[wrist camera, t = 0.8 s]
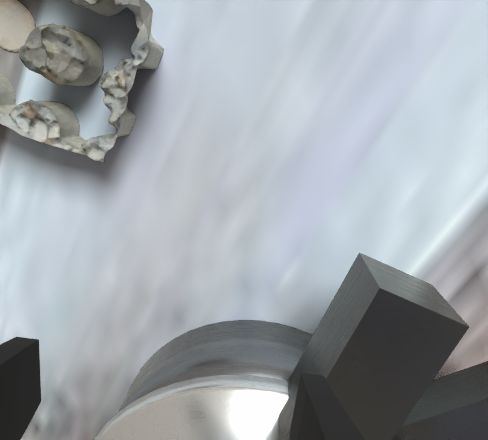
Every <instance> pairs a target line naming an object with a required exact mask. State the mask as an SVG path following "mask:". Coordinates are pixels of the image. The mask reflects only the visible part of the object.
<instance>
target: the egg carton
mask: <svg viewBox="0 0 488 440" xmlns="http://www.w3.org/2000/svg"><path fill="white" fill-rule="evenodd" d="M71 2H72V3H74V4H77V5H81V6H84V7H85V8H88V9H90V10H92V11H94V12H96V13H98V14H100V15H104V16H112V15H115V14H118V13H119V12H120V11H122V10H123V9H124V8H128V9H130V10H131V11H133V14H134V16H135V19H136V25H137V27H138V28H139V30H140V31H139V33H138V35H137V37H136V39H135V40H134V42H133V44H132V46H131V53H132V56H133V58H134V59H122V60H121V61H120V62H119V64H118V66H117V67H116V68H114V69H112V70H110V71H108V72H106V73H105V74H104V75H103V77H102V80H101V82H100V83H99V87H101V88H102V90H103V91H104V92H105V97H104V99H103V101H104V104H105V105H106V106H107V107H108V108H109V109H110V110H111V116H110V118H109V123H110V124H111V125H113V126H115V127H116V129H117V132H116V134H110V135H104V136H98V137H93V138H90V139H88V140H87V141H86V140H85V139H83V138H82V137H80V136H79V132H80V126H79V122H78V119H77V117H76V115H75V113H74V112H73V111H72V110H71V109H70V108H69V107H68V106H66V105H64V104H62V103H58V102H52V101H33V100H30V101H28V102H24V103H21V104H19V105H16V104H15V102H16V97H15V91H14V89H13V86H12V84H11V83H10V81H9V80H8V79H7V77H6V76H4V75H3V74H2V73H0V124H2V125H4V126H6V127H8V128H10V129H12V130H14V131H15V132H17V133H18V134H20V135H22V136H24V137H27V138H30V139H33V140H36V141H39V142H42V143H45V144H48V145H51V146H55V147H59V148H62V149H65V150H68V151H71V152H75V153H79V154H82V155H86V156H88V157H89V158H90V159H93V160H96V161H100V162H104V156H105V154H106V153H107V152H108V151H109V150H110V149H111V148H112V147H113V146H114V144H115V141H116V139H117V137H119V136H125V135H129V134H130V132H131V130H132V128H133V125H134V123H135V120H136V116H135V115H134V114H133V113H131V112H130V111H129V110H128V108H127V107H126V106H127V102H128V95H127V93H128V92H129V91H130V89H131V88H132V85H133V83H134V79H135V75H136V71H137V70H138V69H142V68H147V69H153V70H155V69H156V68H157V67H158V64H159V62H160V59H161V57H162V55H163V51H164V49H163V48H162V47H161V46H160V45H159V44H158V43H157V42H156V41H155V40H154V38H153V36H152V35H151V23H152V13H153V10H152V8H151V6H150V5H149V4H148V3H147V2H146V1H145V0H71ZM0 46H1V47H2V48H3V49H5V50H8V51H10V52H12V51H13V52H19V57H20V59H21V61H22V62H23V64H24V65H25V66H26V67H27V68H28V69H29V70H31V71H34V72H36V73H39V74H41V75H42V76H44V77H45V78H47V79H48V80H50V81H51V82H53V83H55V84H59V85H75V86H88V85H91V84H93V83H94V82H96V81H97V79H98V78H99V77H100V76H101V74H102V72H103V68H104V59H103V54H102V52H101V49H100V47H99V45H98V44H97V43H96V42H95V41H94V40H93V39H92V38H91V37H89V36H87V35H85V34H82V33H80V32H78V31H75V30H72V29H70V28H68V27H65V26H56V25H55V24H50V25H43V26H39V27H37V28H36V26H35V20H34V18H33V16H32V14H31V12H30V11H29V10H28V9H27V8H26V6H25V5H24V4H22V3H21V2H19V1H17V0H0ZM91 86H92V85H91Z"/></svg>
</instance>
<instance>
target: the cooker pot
mask: <svg viewBox="0 0 488 440" xmlns="http://www.w3.org/2000/svg"><path fill="white" fill-rule="evenodd" d="M312 336H313V335H311V334H309V333H306V332H304V331H301V330H299V329H296V328H293V327H289V326H286V325H282V324H278V323H272V322H265V321H255V320H237V321H225V322H219V323H215V324H210V325H206V326H203V327H200V328H197V329H194V330H191V331H189V332H187V333H185V334H183V335H181V336H179V337H177V338H175V339H173V340H172V341H170V342H169V343H167V344H166V345H164V346H163V347H162V348H160V349H159V350H158V351H157V352H156V353H155V354H154V355H153V356H152V357H151V358H150V359H149V360H148V361H147V362H146V364H145V365H144V366H143V367H142V369H141V370H140V372H139V373H138V375H137V377H136V379H135V380H134V382H133V384H132V386H131V388H130V390H129V392H128V394H127V396H126V398H125V400H124V402H123V404H122V406H121V408H120V410H119V412H120V411H121V410H122V409H124V408H125V407H127V406H128V405H129V404H131V403H132V402H134V401H135V400H137V399H139V398H141V397H143V396H145V395H147V394H149V393H150V392H152V391H155V390H157V389H160V388H163V387H165V386H168V385H171V384H174V383H177V382H181V381H186V380H190V379H194V378H199V377H207V376H216V375H254V376H263V377H272V378H277V379H281V380H286V381H288V379H289V377H290V376H291V374H292V372H293V370H294V368H295V367H296V365H297V363H298V361H299V359H300V358H301V356H302V354H303V352H304V351H305V349H306V347H307V345H308V343H309V342H310V340H311V338H312ZM392 440H488V361H487V362H484V363H481V364H478V365H475V366H472V367H469V368H467V369H464V370H461V371H458V372H455V373H452V374H449V375H447V376H444V377H441V378H438V379H435V380H433V381H432V382H431V383H430V385H429V386H428V388H427V389H426V391H425V392H424V394H423V395H422V397H421V398H420V399H419V401H418V402H417V404H416V405H415V407H414V408H413V410H412V411H411V413H410V414H409V415H408V417H407V418H406V420H405V421H404V423H403V424H402V426H401V427H400V429H399V430H398V432H397V433H396V434H395V436H394V437H393V439H392Z"/></svg>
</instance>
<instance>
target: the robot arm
mask: <svg viewBox="0 0 488 440" xmlns="http://www.w3.org/2000/svg"><path fill="white" fill-rule="evenodd" d="M40 402H41V387H40V361H39V340H37V339H29V338H21V337H15V338H13V339H11V340H9V341H7V342H5V343H3V344H1V345H0V440H20V439H21V438H22V436H23V434H24V432H25V430H26V429H27V427H28V425H29V423H30V421H31V420H32V418H33V416H34V414H35V412H36V410H37V408H38V406H39V404H40ZM290 440H366V439H365V438H364V436H363V435H362V433H361V432H360V430H359V429H358V428H357V426H356V425H355V423H354V422H353V420H352V419H351V417H350V416H349V414H348V413H347V411H346V410H345V408H344V407H343V405H342V404H341V402H340V401H339V399H338V397H337V396H336V394H335V393H334V391H333V389H332V388H331V386H330V384H329V383H328V381H327V380H326V378H325V377H324V376H323V375H317V374H309V373H301V375H300V381H299V386H298V391H297V396H296V401H295V407H294V412H293V417H292V422H291V428H290Z"/></svg>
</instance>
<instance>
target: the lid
mask: <svg viewBox="0 0 488 440" xmlns="http://www.w3.org/2000/svg"><path fill="white" fill-rule="evenodd" d="M468 328H469V326H468V325H467V324H466V323H465V322H464V320H463V319H462V318H461V317H460V316H459V315H458V314H457V313H456V311H455V310H454V309H453V308H452V307H451V306H450V305H449V304H448V302H447V301H446V300H445V299H444V298H443V297H442V296H441V295H440V293H439V292H438V291H437V290H436V289H435V288H434V287H433V285H431V284H429V283H427V282H424V281H422V280H420V279H418V278H415V277H413V276H411V275H409V274H406V273H404V272H402V271H400V270H397V269H395V268H393V267H391V266H388V265H386V264H384V263H381V262H379V261H377V260H375V259H372V258H370V257H368V256H366V255H363V254H361V253H359V254H358V256H357V258H356V259H355V261H354V263H353V265H352V267H351V268H350V270H349V272H348V274H347V275H346V277H345V279H344V281H343V283H342V284H341V286H340V288H339V290H338V292H337V293H336V295H335V297H334V299H333V300H332V302H331V304H330V306H329V308H328V309H327V311H326V313H325V315H324V317H323V318H322V320H321V322H320V324H319V326H318V327H317V329H316V331H315V333H314V334H313V336H312V338H311V340H310V342H309V343H308V345H307V347H306V349H305V351H304V352H303V354H302V356H301V358H300V359H299V361H298V363H297V365H296V367H295V368H294V370H293V372H292V374H291V376H290V377H289V379H288V381H286V380H281V379H277V378H272V377H263V376H254V375H216V376H207V377H199V378H194V379H190V380H186V381H181V382H177V383H174V384H171V385H168V386H165V387H163V388H160V389H157V390H155V391H152V392H150V393H149V394H147V395H145V396H143V397H141V398H139V399H137V400H135V401H134V402H132V403H131V404H129V405H128V406H127V407H125V408H124V409H122V410H121V411H120V412H118V413H117V414H116V415H115V416H114V417H113V418H112V419H111V420H110V421H109V422H108V423H107V424H106V425H105V426H104V427H103V428H102V429H101V430H100V432H99V433H98V434H97V436H96V437H95V438H94V440H290V428H291V422H292V417H293V412H294V407H295V401H296V396H297V391H298V386H299V381H300V375H301V373H309V374H317V375H323V376H324V377H325V378H326V380H327V381H328V383H329V384H330V386H331V388H332V389H333V391H334V393H335V394H336V396H337V397H338V399H339V401H340V402H341V404H342V405H343V407H344V408H345V410H346V411H347V413H348V414H349V416H350V417H351V419H352V420H353V422H354V423H355V425H356V426H357V428H358V429H359V430H360V432H361V433H362V435H363V436H364V438H365V439H366V440H392V439H393V437H394V436H395V434H396V433H397V432H398V430H399V429H400V427H401V426H402V424H403V423H404V421H405V420H406V418H407V417H408V415H409V414H410V413H411V411H412V410H413V408H414V407H415V405H416V404H417V402H418V401H419V399H420V398H421V397H422V395H423V394H424V392H425V391H426V389H427V388H428V386H429V385H430V383H431V382H432V381H433V379H434V378H435V376H436V375H437V373H438V372H439V370H440V369H441V367H442V366H443V365H444V363H445V362H446V360H447V359H448V357H449V356H450V354H451V353H452V351H453V350H454V349H455V347H456V346H457V344H458V343H459V341H460V340H461V338H462V337H463V335H464V334H465V333H466V331H467V330H468Z"/></svg>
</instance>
